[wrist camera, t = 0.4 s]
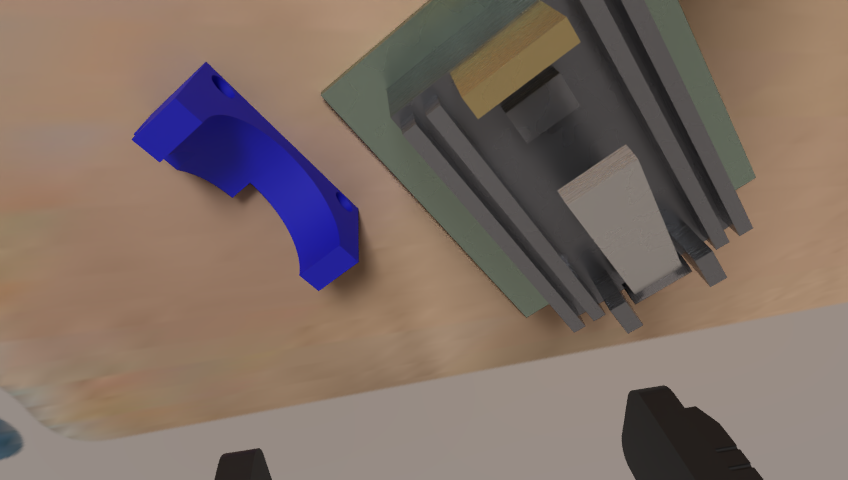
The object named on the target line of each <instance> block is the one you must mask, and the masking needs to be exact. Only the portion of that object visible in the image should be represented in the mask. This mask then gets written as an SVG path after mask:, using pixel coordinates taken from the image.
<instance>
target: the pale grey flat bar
mask: <svg viewBox="0 0 848 480" xmlns="http://www.w3.org/2000/svg"><path fill="white" fill-rule="evenodd" d="M557 191H558V193H559V194H560V196H561V197H562V199H563V200H564V202H565V203H566V205H567V206H568V207H569V209H570V210H571V211H572V213H573V214H574V215H575V217H576V218H577V219H578V220H579V222H580V223H581V224H582V226H583V227H584V228H585V230H586V231H587V232H588V234H589V235H590V236H591V238H592V239H593V240H594V242H595V243H596V244H597V245H598V247H599V248H600V249H601V251H602V252H603V253H604V255H605V256H606V257H607V259H608V260H609V261H610V263H611V264H612V265H613V267H614V268H615V269H616V270H617V272H618V273H619V274H620V276H621V277H622V278H623V280H624V281H625V282H624V283H623V284H622V286H623V287H624V289H625V290H626V292H627V293H628V295H629V296H630V298H631V299H632V300H633V302H634V303H635V304H637V303H639V302H640V301H642V300H644V299H646V298H647V297H649V296H651V295H652V294H654V293H656V292H658V291H659V290H661V289H663V288H665V287H666V286H668V285H670V284H671V283H673V282H675V281H677V280H678V279H680V278H682V277H683V276H685V275H687V274H689V273H690V272H692V271H691V269H690V267H689V266H688V264H687V263H686V261H685V260H684V259H683V257H682V256H681V255H680V254H679V253H678V252H677V251H676V250H675V248H674V245H673V243H672V240H671V238H670V235H669V233H668V230H667V228H666V226H665V223H664V221H663V218H662V216H661V213H660V211H659V209H658V206H657V204H656V201H655V199H654V196H653V194H652V192H651V189H650V187H649V184H648V182H647V179H646V177H645V175H644V172H643V170H642V167H641V165H640V162H639V160H638V158H637V157H636V156H635V155H634V153H633V152H632V151H631V150H630V149H629V147H628V146H627V145H626V144H625V145H624V146H622V147H621V148H619V149H618V150H616V151H615V152H614V153H612V154H611V155H609V156H608V157H606V158H605V159H603V160H602V161H600V162H599V163H597V164H596V165H594V166H593V167H591V168H590V169H588V170H587V171H585V172H584V173H582V174H581V175H579V176H578V177H577V178H575V179H574V180H572V181H571V182H569V183H568V184H566V185H565V186H563V187H562V188H560V189H559V190H557Z"/></svg>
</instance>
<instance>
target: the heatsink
mask: <svg viewBox="0 0 848 480" xmlns="http://www.w3.org/2000/svg"><path fill="white" fill-rule="evenodd" d="M321 96H322V97H323V98H324V99H325V100H326V101H327V103H328V104H329V105H330V106H331V107H332V108H333V109H334V110H335V111H336V112H337V113H338V114H339V115H340V117H341V118H342V119H343V120H344V121H345V122H346V123H347V124H348V125H349V126H350V127H351V128H352V130H353V131H354V132H355V133H356V134H357V135H358V136H359V137H360V138H361V139H362V140H363V141H364V143H365V144H366V145H367V146H368V147H369V148H370V149H371V150H372V151H373V152H374V153H375V154H376V155H377V157H378V158H379V159H380V160H381V161H382V162H383V163H384V164H385V165H386V166H387V167H388V168H389V170H390V171H391V172H392V173H393V174H394V175H395V176H396V177H397V178H398V179H399V180H400V181H401V182H402V184H403V185H404V186H405V187H406V188H407V189H408V190H409V191H410V192H411V193H412V194H413V195H414V197H415V198H416V199H417V200H418V201H419V202H420V203H421V204H422V205H423V206H424V207H425V208H426V210H427V211H428V212H429V213H430V214H431V215H432V216H433V217H434V218H435V219H436V220H437V221H438V222H439V224H440V225H441V226H442V227H443V228H444V229H445V230H446V231H447V232H448V233H449V234H450V235H451V237H452V238H453V239H454V240H455V241H456V242H457V243H458V244H459V245H460V246H461V247H462V248H463V249H464V251H465V252H466V253H467V254H468V255H469V256H470V257H471V258H472V259H473V260H474V261H475V262H476V264H477V265H478V266H479V267H480V268H481V269H482V270H483V271H484V272H485V273H486V274H487V275H488V276H489V278H490V279H491V280H492V281H493V282H494V283H495V284H496V285H497V286H498V287H499V288H500V289H501V291H502V292H503V293H504V294H505V295H506V296H507V297H508V298H509V299H510V300H511V301H512V302H513V304H514V305H515V306H516V307H517V308H518V309H519V310H520V311H521V312H522V313H523V314H524V315H525V316H526V318H527V317H528V316H530V315H532V314H533V313H535V312H537V311H538V310H540V309H542V308H543V307H545V306H546V305H548V304H550V305H551V307H552V308H553V309H554V310H555V311H556V312H557V313H558V315H559V316H560V317H561V318H562V319H563V320H564V322H565V323H566V324H567V325H568V326H569V327H570V328H571V330H572V331H573V332H574V333H575V332H576V331H578V330H580V329H582V328H583V327H585V324H584V322H583V320H582V318H581V317H580V315H581V314H582V313H584V312H587V313H588V314H589V316H590V317H591V318H592V319H593V321H595V320H597V319H599V318H600V317H602V316H604V315H605V313H604V311H603V309H602V308H601V306H600V304H599V303H601V302H603V301H605V303H606V305H607V306H608V308H609V310H610V311H611V312H612V314H613V315H614V316H615V318H616V319H617V320H618V322H619V323H620V324H621V325H622V327H623V328H624V329H625V331H626V332H627V333H630V332H632V331H634V330H635V329H637V328H639V327H641V326H643V324H642V322H641V321H640V319H639V318H638V316H637V315H636V313H635V312H634V310H633V308H632V307H631V305H630V304H629V302H628V301H627V299H626V298H625V296H624V295H623V293H622V292H621V290H623V289H624V287H623V286H622V284H623V283H624V282H625V281H624V280H623V278H622V277H621V276H620V274H619V273H618V272H617V270H616V269H615V268H614V267H613V265H612V264H611V263H610V261H609V260H608V259H607V257H606V256H605V255H604V253H603V252H602V251H601V249H600V248H599V247H598V245H597V244H596V243H595V242H594V240H593V239H592V238H591V236H590V235H589V234H588V232H587V231H586V230H585V228H584V227H583V226H582V224H581V223H580V222H579V220H578V219H577V218H576V217H575V215H574V214H573V213H572V211H571V210H570V209H569V207H568V206H567V205H566V203H565V202H564V200H563V199H562V197H561V196H560V194H559V193H558V191H557V190H559V189H560V188H562V187H563V186H565V185H566V184H568V183H569V182H571V181H572V180H574V179H575V178H577V177H578V176H579V175H581V174H582V173H584V172H585V171H587V170H588V169H590V168H591V167H593V166H594V165H596V164H597V163H599V162H600V161H602V160H603V159H605V158H606V157H608V156H609V155H611V154H612V153H614V152H615V151H616V150H618V149H619V148H621V147H622V146H624V145H625V144H626V145H627V146H628V147H629V149H630V150H631V151H632V152H633V153H634V155H635V156H636V157H637V158H638V160H639V162H640V165H641V167H642V170H643V172H644V175H645V177H646V179H647V182H648V184H649V187H650V189H651V192H652V194H653V196H654V199H655V201H656V204H657V206H658V209H659V211H660V213H661V216H662V218H663V221H664V223H665V226H666V228H667V230H668V233H669V235H670V238H671V240H672V243H673V245H674V248H675V250H676V251H677V252H678V253H679V254H680V255H683V256H684V258H685V259H686V260H687V261H688V262H689V263H690V264H691V265H692V267H693V268H694V269H695V270H696V271H697V272H698V273H699V275H700V276H701V277H702V278H703V279H704V280H705V281H706V283H707V284H708V285H709V286H710V287H711V286H713V285H715V284H717V283H718V282H720V281H722V280H724V279H725V278H727V276H726V275H725V273H724V271H723V269H722V267H721V266H720V264H719V262H718V260H717V258H716V257H715V255H714V253H713V251H712V250H711V249H710V248H709V247H708V246H707V245H706V244H705V243H704V241H705V240H707V241H708V242H709V243H710V244H711V245H712V246H713V247H714V248H715V249H716V250H717V249H718V248H720V247H722V246H723V245H725V244H727V243H729V240H728V238H727V236H726V234H725V232H724V229H726V228H727V227H730V228H731V229H732V230H733V231H735V232H736V233H737V234H738V235H739V236H741V235H742V234H744V233H746V232H747V231H749V230H751V229H753V227H752V225H751V223H750V221H749V219H748V216H747V214H746V212H745V210H744V208H743V206H742V204H741V202H740V200H739V198H738V195H737V193H736V191H735V190H736V189H738V188H740V187H741V186H743V185H745V184H746V183H748V182H749V181H751V180H753V179H754V178H756V176H755V174H754V172H753V170H752V167H751V165H750V163H749V161H748V158H747V156H746V154H745V151H744V149H743V147H742V145H741V142H740V140H739V138H738V136H737V133H736V131H735V129H734V126H733V124H732V122H731V120H730V117H729V115H728V113H727V111H726V108H725V106H724V104H723V101H722V99H721V97H720V95H719V92H718V90H717V88H716V86H715V83H714V81H713V79H712V76H711V74H710V72H709V70H708V67H707V65H706V63H705V61H704V58H703V56H702V54H701V51H700V49H699V47H698V45H697V42H696V40H695V38H694V36H693V33H692V31H691V29H690V26H689V24H688V22H687V20H686V17H685V15H684V13H683V11H682V8H681V6H680V4H679V2H678V0H429V1H427V2H426V3H425V4H424V5H423V6H422V7H420V8H419V9H418V10H417V11H416V12H415V13H413V14H412V15H411V16H410V17H409V18H408V19H406V20H405V21H404V22H403V23H402V24H401V25H399V26H398V27H397V28H396V29H395V30H393V31H392V32H391V33H390V34H389V35H388V36H386V37H385V38H384V39H383V40H382V41H381V42H379V43H378V44H377V45H376V46H375V47H374V48H372V49H371V50H370V51H369V52H368V53H367V54H365V55H364V56H363V57H362V58H361V59H359V60H358V61H357V62H356V63H355V64H354V65H352V66H351V67H350V68H349V69H348V70H347V71H345V72H344V73H343V74H342V75H341V76H340V77H338V78H337V79H336V80H335V81H334V82H333V83H331V84H330V85H329V86H328V87H327V88H326V89H324V90H323V91H322V92H321Z"/></svg>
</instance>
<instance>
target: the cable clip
mask: <svg viewBox="0 0 848 480" xmlns="http://www.w3.org/2000/svg"><path fill="white" fill-rule="evenodd" d="M134 135H135V136H134V137H133V139H132V140H133V141H134V142H135V143H136V144H138V145H139V146H140V147H141V148H143V149H144V150H145V151H146V152H148V153H149V154H150V155H151V156H152V157H154V158H155V159H156V160H157V161H159V162H161V161H162V160H163V159H164V160H166V161H167V162H168V163H169V164H171V165H172V166H173V167H174V168H175V169H177V170H180V171H184V172H188V173H191V174H194V175H196V176H198V177H201V178H203V179H205V180H207V181H209V182H210V183H212V184H214V185H215V186H217V187H218V188H220V189H221V190H223V191H224V192H226V193H227V194H228V195H229V196H231V197H232V198H233V197H234V196H235V195H236V194H237V193H238V192H240V191H241V190H242V189H243V188H244V187H246V186H247V185H248V184H249V183H251V184H252V185H253V186H254V187H255V188H256V189H257V190H258V191H259V192H260V193H261V194H262V195H263V196H264V197H265V198H266V199H267V200H268V202H269V203H270V204H271V205H272V206H273V208H274V209H275V210H276V212H277V213H278V214H279V216H280V217H281V219H282V220H283V222H284V223H285V225H286V227H287V229H288V230H289V232H290V235H291V237H292V239H293V241H294V244H295V246H296V249H297V253H298V257H299V263H300V274H299V275H300V276H301V277H302V278H303V279H304V280H306V281H307V282H308V283H309V284H311V285H312V286H313V287H314V288H316V289H317V290H318V291H319V290H321V289H322V288H324V287H325V286H326V285H328V284H329V283H330V282H332V281H333V280H335V279H336V278H337V277H339V276H340V275H341V274H343V273H344V272H346V271H347V270H348V269H350V268H351V267H352V266H354V265H355V264H357V263H358V262H359V248H358V208H357V207H356V206H355V205H354V204H353V203H352V202H351V201H350V200H349V199H348V198H347V197H345V196H344V195H343V194H342V193H341V192H340V191H339V190H338V189H337V188H336V187H335V186H334V185H333V184H332V183H331V182H330V181H329V180H328V179H327V178H326V177H325V176H324V175H323V174H322V173H321V172H320V171H319V170H318V169H317V168H315V167H314V166H313V165H312V164H311V163H310V162H309V161H308V160H307V159H306V158H305V157H304V156H303V155H302V154H301V153H300V152H299V151H298V150H297V149H296V148H295V147H294V146H293V145H292V144H291V143H290V142H289V141H288V140H287V139H285V138H284V137H283V136H282V135H281V134H280V133H279V132H278V131H277V130H276V129H275V128H274V127H273V126H272V125H271V124H270V123H269V122H268V121H267V120H266V119H265V118H264V117H263V116H262V115H261V114H260V113H259V112H258V111H256V110H255V109H254V108H253V107H252V106H251V105H250V104H249V103H248V102H247V101H246V100H245V99H244V98H243V97H242V96H241V95H240V94H239V93H238V92H237V91H236V90H235V89H234V88H233V87H232V86H231V85H230V84H229V83H228V82H226V81H225V80H224V79H223V78H222V77H221V76H220V75H219V74H218V73H217V72H216V71H215V70H214V69H213V68H212V67H211V66H210V65H209V64H208V63H207V62H205V63H204V64H203V65H202V66H201V67H200V68H199V69H198V70H197V71H196V72H195V73H194V74H193V75H192V76H191V77H190V78H189V79H188V80H187V81H186V82H185V83H184V84H182V85H181V86H180V87H179V88H178V89H177V90H176V91H175V92H174V93H173V94H172V95H171V96H170V97H169V98H168V99H167V100H166V101H165V102H164V103H163V104H162V105H161V106H160V107H159V108H158V109H157V110H156V111H154V112H153V113H152V114H151V115H150V117H149V118H148V119H147V120H146V121H145V122H144V123H143V124H142V125H141V127H140V128H139V129H138V130H137V131H136V132H135V133H134Z"/></svg>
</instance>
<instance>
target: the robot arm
mask: <svg viewBox="0 0 848 480" xmlns="http://www.w3.org/2000/svg"><path fill="white" fill-rule="evenodd" d="M622 447H623V452H624V456H625V459H626V461H627V464H628V466H629V468H630V470H631V472H632V474H633V475H634V477H635V479H636V480H763V478H762V477H761V476H760V474H759V473H758V472H757V471H756V469H755V468H752V467H751V465H750V462H749V460H748V459H747V458H746V457H745V455H744V454H743V453H742V452H741V450H738V449H737V447H736V444H735V443H734V441H733V440H732V439H731V438H730V436H729V435H728V434H727V432H726V431H725V430H724V429H723V427H722V426H721V425H720V424H719V423H718V422H717V421H715V420H714V419H713V418H711V417H710V416H708V415H707V414H706V413H704V412H703V411H701V410H700V409H699V408H697V407H689V408H684V407H683V405H682V404H681V402H680V401H679V400H678V398H677V397H676V396H675V394H674V393H673V392H672V391H671V389H669V388H668V387H667V386H658V387H652V388H645V389H639V390H632V391H630V392H629V394H628V399H627V406H626V412H625V419H624V425H623V432H622ZM215 480H272V479H271V476H270V473H269V470H268V467H267V464H266V461H265V458H264V455H263V452H262V450H261V449H260V448H258V449H252V450H246V451H239V452H232V453H226V454H223V455H222V456H221V458H220V460H219V464H218V468H217V472H216V476H215Z"/></svg>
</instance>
